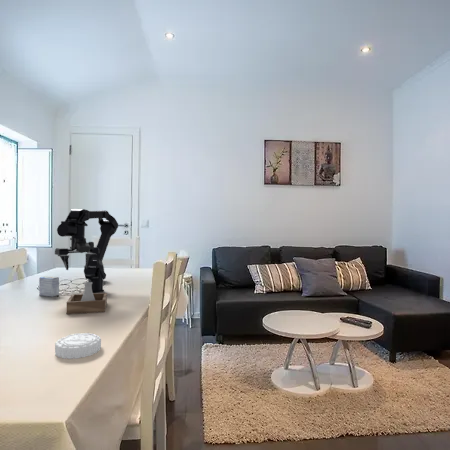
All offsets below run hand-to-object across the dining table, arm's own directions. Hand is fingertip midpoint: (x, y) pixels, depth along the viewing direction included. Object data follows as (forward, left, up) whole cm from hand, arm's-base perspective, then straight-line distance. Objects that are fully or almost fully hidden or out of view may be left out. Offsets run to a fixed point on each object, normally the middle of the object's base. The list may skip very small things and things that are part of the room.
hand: (77, 269), depth 160 cm
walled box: (+5, +23, -13) cm, 27 cm away
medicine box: (+8, -12, -13) cm, 20 cm away
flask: (+5, +22, -13) cm, 26 cm away
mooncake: (+27, +63, -14) cm, 70 cm away
